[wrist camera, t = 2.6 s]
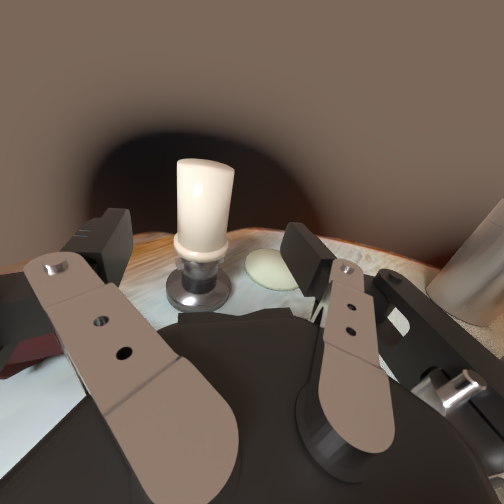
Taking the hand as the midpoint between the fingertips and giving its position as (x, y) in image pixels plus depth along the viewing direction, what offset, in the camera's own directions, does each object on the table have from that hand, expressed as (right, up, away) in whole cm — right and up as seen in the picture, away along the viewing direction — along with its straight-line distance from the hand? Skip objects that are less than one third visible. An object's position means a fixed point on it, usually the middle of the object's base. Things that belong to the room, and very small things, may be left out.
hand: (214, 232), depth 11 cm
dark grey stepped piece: (-5, -6, +17) cm, 19 cm away
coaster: (+6, -4, +24) cm, 25 cm away
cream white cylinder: (-4, 0, +14) cm, 14 cm away
